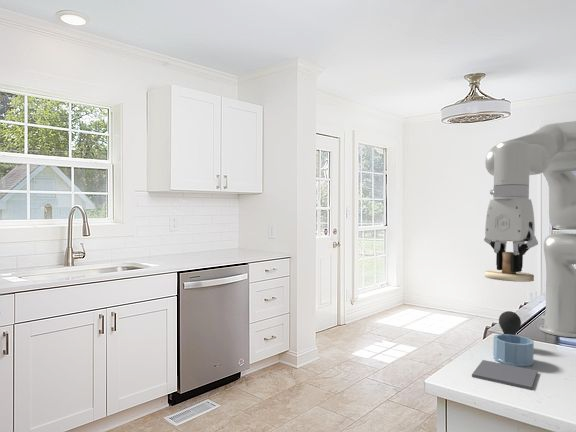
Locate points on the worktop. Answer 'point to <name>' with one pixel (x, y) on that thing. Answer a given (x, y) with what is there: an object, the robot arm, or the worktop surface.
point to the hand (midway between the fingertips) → (509, 270)
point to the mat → (506, 374)
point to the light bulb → (509, 322)
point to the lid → (508, 271)
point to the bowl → (513, 350)
